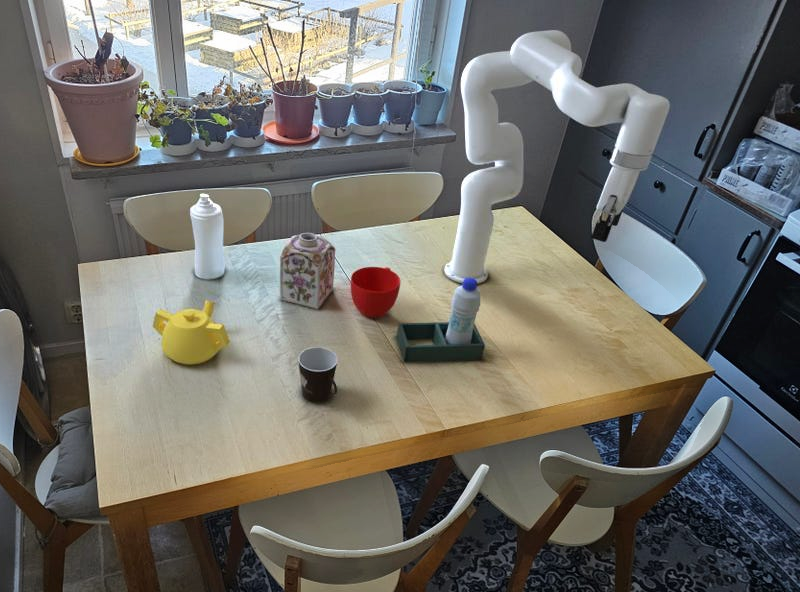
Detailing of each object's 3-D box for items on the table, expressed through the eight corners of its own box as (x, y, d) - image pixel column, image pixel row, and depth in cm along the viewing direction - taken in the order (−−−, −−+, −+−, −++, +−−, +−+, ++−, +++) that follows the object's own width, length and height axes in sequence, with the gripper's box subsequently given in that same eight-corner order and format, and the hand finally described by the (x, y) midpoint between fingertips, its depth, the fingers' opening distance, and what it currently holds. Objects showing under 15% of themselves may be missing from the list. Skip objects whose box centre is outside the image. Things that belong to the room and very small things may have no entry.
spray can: (238, 272, 184) (234, 191, 169) (214, 288, 177) (207, 204, 162) (207, 260, 189) (200, 180, 174) (183, 275, 182) (173, 193, 166)
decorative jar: (278, 300, 174) (278, 241, 162) (295, 280, 182) (296, 222, 171) (319, 310, 170) (321, 250, 159) (334, 289, 179) (338, 231, 168)
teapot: (249, 333, 161) (247, 297, 154) (216, 376, 147) (213, 338, 140) (178, 316, 166) (174, 280, 159) (140, 356, 152) (134, 319, 145)
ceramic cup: (407, 298, 177) (412, 267, 170) (386, 330, 164) (390, 297, 158) (364, 287, 181) (367, 256, 174) (340, 316, 168) (343, 284, 162)
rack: (396, 337, 162) (398, 323, 159) (470, 335, 164) (473, 321, 161) (404, 362, 154) (406, 347, 151) (481, 359, 156) (485, 345, 153)
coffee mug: (296, 381, 147) (297, 347, 141) (333, 380, 148) (335, 346, 141) (299, 416, 138) (300, 381, 131) (338, 415, 138) (341, 380, 132)
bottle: (469, 358, 156) (485, 288, 144) (442, 353, 157) (455, 284, 145) (470, 342, 161) (485, 274, 149) (443, 338, 162) (456, 270, 150)
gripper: (622, 142, 140) (597, 213, 151) (601, 165, 129) (576, 241, 139) (657, 150, 137) (630, 222, 148) (640, 175, 126) (611, 251, 136)
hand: (604, 231), depth 144 cm, fingers open, 9 cm apart
